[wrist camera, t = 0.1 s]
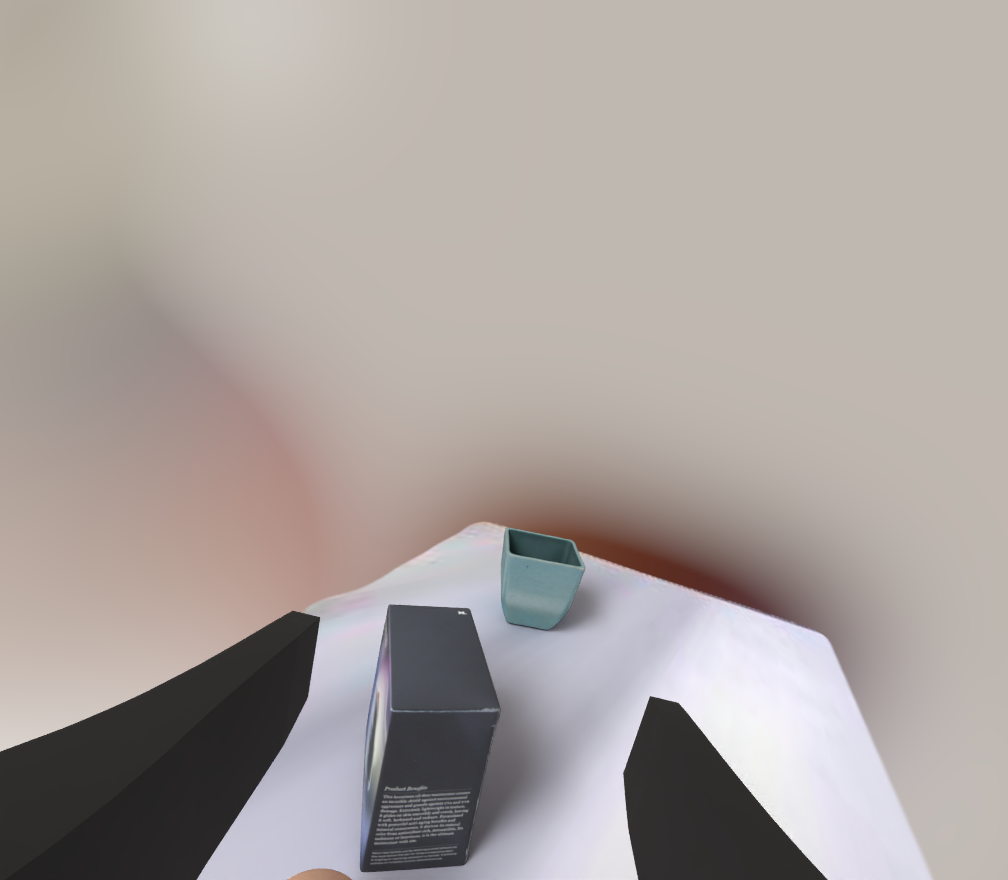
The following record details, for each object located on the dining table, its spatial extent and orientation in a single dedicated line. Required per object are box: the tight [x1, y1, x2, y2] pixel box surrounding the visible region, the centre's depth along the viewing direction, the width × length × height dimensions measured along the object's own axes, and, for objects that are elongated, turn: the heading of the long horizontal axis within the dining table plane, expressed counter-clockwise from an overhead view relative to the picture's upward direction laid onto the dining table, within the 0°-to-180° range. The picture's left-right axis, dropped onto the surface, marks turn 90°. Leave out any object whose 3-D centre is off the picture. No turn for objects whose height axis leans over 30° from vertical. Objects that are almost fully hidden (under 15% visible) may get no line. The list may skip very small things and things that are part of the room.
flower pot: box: [501, 528, 585, 630], centre depth 57 cm, size 9×9×9 cm
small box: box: [360, 605, 501, 872], centre depth 32 cm, size 11×6×10 cm, turn 14°
